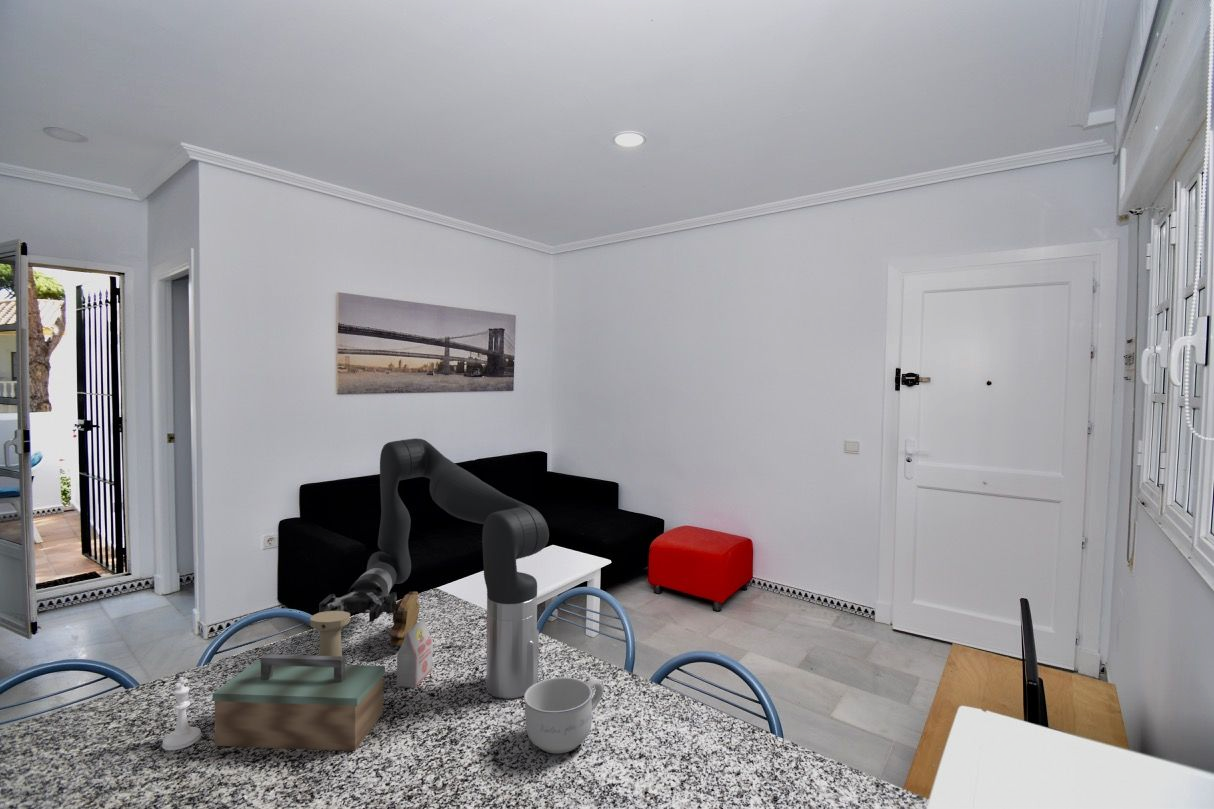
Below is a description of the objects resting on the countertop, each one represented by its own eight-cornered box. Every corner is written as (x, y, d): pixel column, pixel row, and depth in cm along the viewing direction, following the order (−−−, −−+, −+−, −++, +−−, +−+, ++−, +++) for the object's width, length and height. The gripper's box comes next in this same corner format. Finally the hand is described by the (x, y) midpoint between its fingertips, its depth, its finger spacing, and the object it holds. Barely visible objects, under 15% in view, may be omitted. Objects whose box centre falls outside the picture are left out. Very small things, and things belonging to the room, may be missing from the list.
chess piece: (209, 734, 90) (208, 672, 90) (176, 753, 85) (175, 688, 85) (187, 728, 92) (186, 667, 91) (154, 746, 87) (153, 682, 87)
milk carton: (396, 685, 106) (397, 632, 105) (414, 668, 112) (415, 618, 112) (415, 687, 105) (415, 634, 105) (432, 669, 112) (432, 619, 111)
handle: (341, 707, 98) (341, 622, 98) (305, 707, 98) (304, 621, 98) (354, 692, 103) (354, 611, 102) (319, 691, 103) (319, 610, 102)
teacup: (537, 772, 83) (538, 718, 82) (514, 731, 92) (514, 683, 92) (621, 745, 89) (622, 695, 89) (591, 709, 99) (591, 664, 98)
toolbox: (403, 688, 105) (403, 625, 104) (357, 750, 87) (357, 675, 86) (283, 684, 105) (283, 621, 105) (213, 745, 87) (212, 670, 87)
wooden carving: (400, 624, 132) (399, 582, 131) (420, 622, 132) (420, 581, 132) (385, 660, 115) (385, 612, 115) (409, 658, 116) (408, 611, 115)
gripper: (337, 573, 126) (309, 599, 110) (404, 572, 128) (386, 597, 112) (337, 607, 126) (309, 638, 110) (403, 605, 128) (386, 635, 112)
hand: (348, 617), depth 111 cm, fingers open, 8 cm apart
